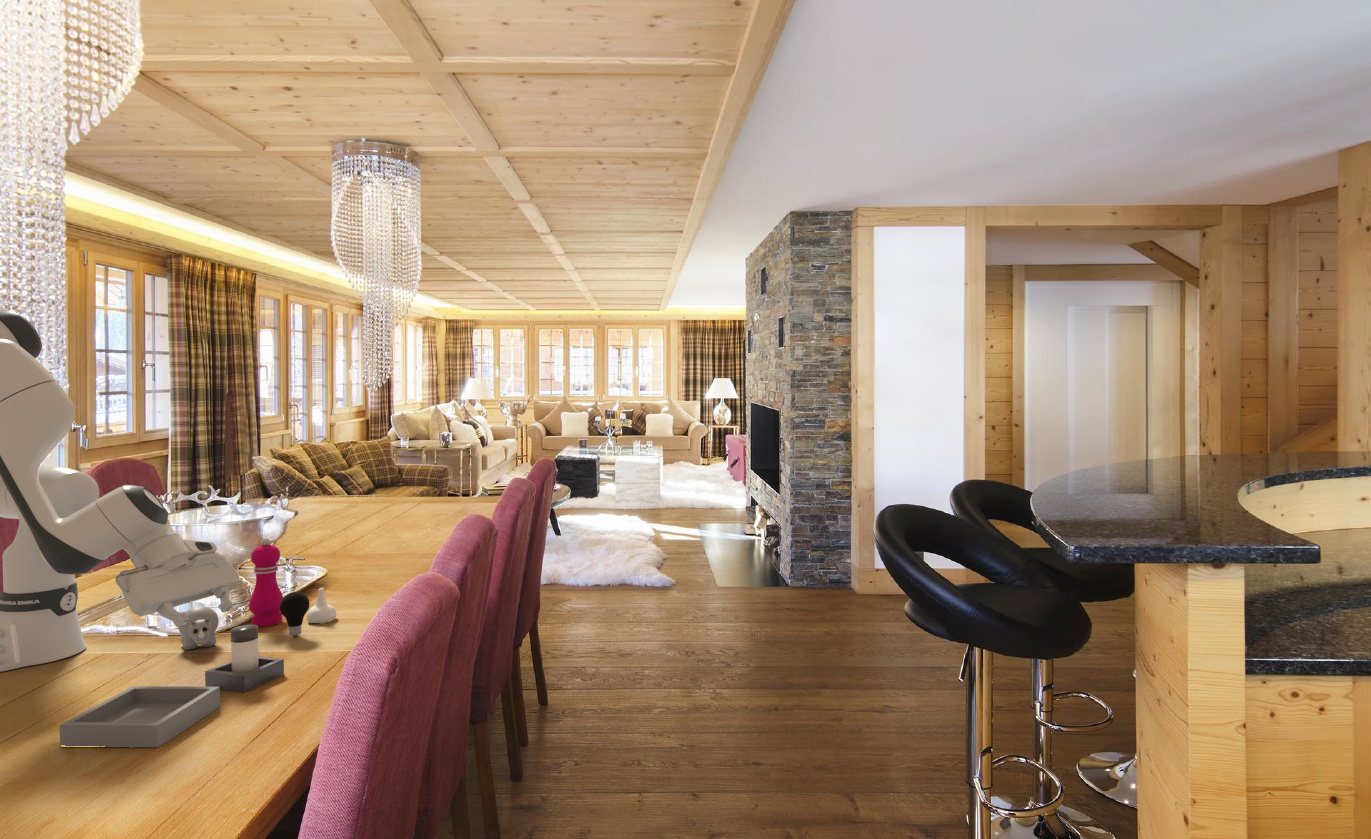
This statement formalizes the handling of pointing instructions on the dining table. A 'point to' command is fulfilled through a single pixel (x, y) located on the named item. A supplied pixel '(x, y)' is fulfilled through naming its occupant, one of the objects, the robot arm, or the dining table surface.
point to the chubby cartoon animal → (199, 628)
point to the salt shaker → (244, 648)
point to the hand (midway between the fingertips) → (206, 616)
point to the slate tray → (140, 717)
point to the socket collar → (244, 675)
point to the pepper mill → (265, 586)
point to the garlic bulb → (321, 610)
